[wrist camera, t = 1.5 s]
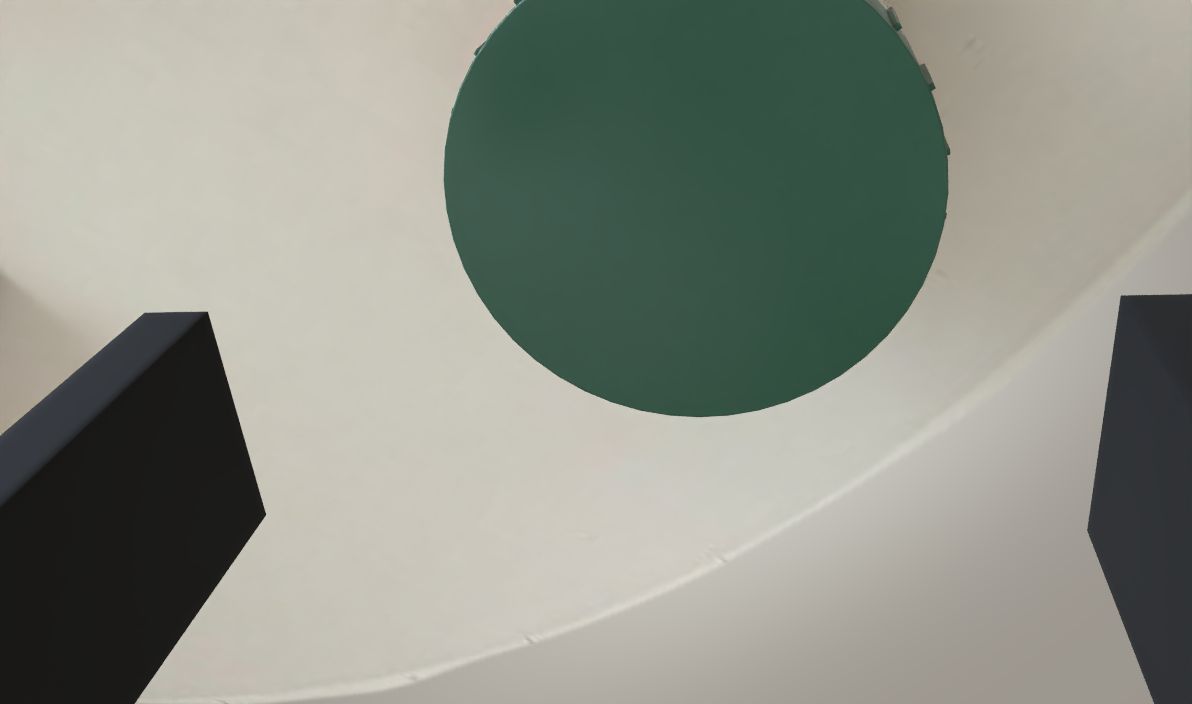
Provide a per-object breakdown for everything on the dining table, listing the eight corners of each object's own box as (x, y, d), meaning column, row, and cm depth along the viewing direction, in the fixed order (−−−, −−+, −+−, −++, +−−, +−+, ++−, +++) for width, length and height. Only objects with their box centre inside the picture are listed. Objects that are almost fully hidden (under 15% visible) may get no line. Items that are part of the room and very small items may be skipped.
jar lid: (786, 438, 22) (785, 490, 20) (406, 255, 21) (374, 294, 19) (1040, 62, 18) (1064, 91, 16) (579, -177, 17) (557, -172, 15)
